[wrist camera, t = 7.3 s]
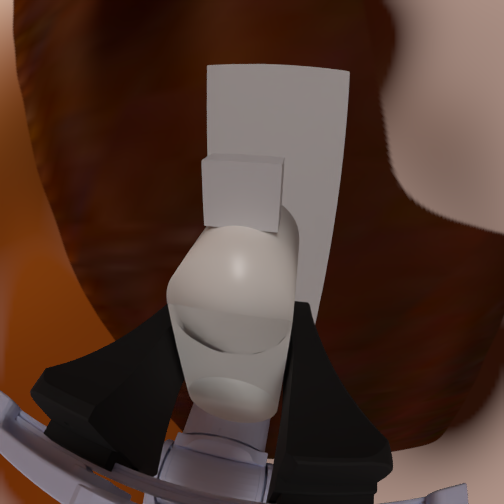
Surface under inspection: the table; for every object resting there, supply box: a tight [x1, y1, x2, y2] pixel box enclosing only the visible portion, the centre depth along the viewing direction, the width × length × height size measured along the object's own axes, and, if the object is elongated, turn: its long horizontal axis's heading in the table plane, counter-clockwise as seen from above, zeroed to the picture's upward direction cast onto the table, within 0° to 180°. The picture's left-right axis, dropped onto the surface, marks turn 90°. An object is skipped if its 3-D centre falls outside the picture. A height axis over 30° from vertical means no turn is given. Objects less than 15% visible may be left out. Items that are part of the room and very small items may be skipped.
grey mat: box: [207, 64, 350, 323], centre depth 19 cm, size 20×8×1 cm, turn 179°
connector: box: [167, 153, 299, 423], centre depth 11 cm, size 10×4×4 cm, turn 178°
